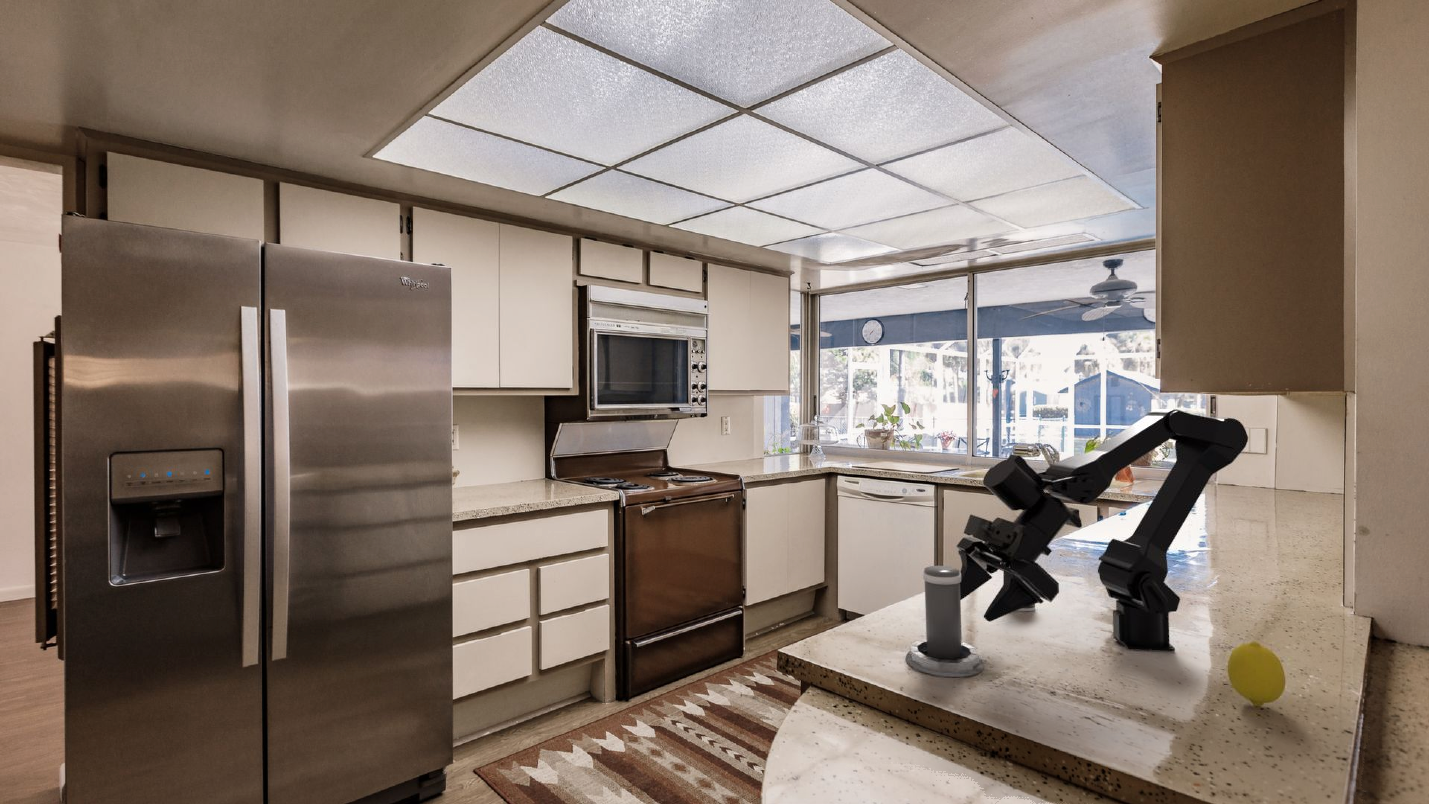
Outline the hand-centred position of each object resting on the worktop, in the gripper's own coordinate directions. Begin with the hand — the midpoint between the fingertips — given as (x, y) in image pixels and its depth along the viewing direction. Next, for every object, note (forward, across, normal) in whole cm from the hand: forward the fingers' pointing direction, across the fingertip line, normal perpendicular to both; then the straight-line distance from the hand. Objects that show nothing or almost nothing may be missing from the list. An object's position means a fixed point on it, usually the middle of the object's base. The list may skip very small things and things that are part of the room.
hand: (969, 609), depth 98 cm
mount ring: (+8, 0, +2) cm, 9 cm away
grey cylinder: (+8, 0, +2) cm, 8 cm away
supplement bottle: (-9, -20, +20) cm, 30 cm away
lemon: (-13, +21, +24) cm, 34 cm away
